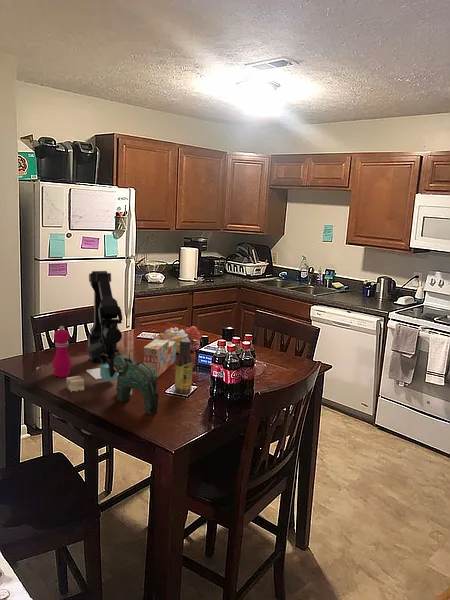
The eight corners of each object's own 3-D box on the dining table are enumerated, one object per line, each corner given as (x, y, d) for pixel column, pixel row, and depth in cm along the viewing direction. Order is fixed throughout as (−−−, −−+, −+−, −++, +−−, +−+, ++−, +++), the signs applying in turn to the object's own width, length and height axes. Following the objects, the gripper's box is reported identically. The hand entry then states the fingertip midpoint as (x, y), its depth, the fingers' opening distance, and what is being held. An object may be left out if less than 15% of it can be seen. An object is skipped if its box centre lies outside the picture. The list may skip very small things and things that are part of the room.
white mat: (85, 371, 206) (85, 370, 206) (111, 366, 212) (111, 365, 212) (95, 379, 197) (95, 378, 197) (122, 375, 204) (122, 374, 204)
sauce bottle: (184, 395, 187) (186, 344, 183) (171, 391, 190) (172, 341, 186) (194, 390, 192) (196, 340, 188) (181, 386, 196) (183, 337, 191)
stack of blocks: (162, 359, 225) (163, 333, 222) (175, 361, 224) (176, 335, 221) (142, 375, 205) (143, 346, 202) (157, 377, 203) (157, 348, 201)
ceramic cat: (111, 399, 180) (111, 346, 176) (125, 394, 185) (126, 342, 181) (148, 417, 168) (150, 360, 164) (162, 411, 173) (164, 356, 169)
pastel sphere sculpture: (199, 356, 233) (200, 336, 231) (148, 353, 234) (149, 334, 232) (202, 340, 258) (203, 323, 256) (157, 338, 258) (157, 320, 256)
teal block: (100, 376, 196) (100, 364, 195) (112, 374, 199) (112, 362, 198) (105, 380, 192) (105, 368, 191) (117, 378, 195) (117, 365, 194)
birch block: (66, 387, 189) (66, 377, 188) (79, 385, 191) (79, 375, 191) (70, 392, 185) (70, 382, 184) (84, 390, 187) (84, 379, 187)
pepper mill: (54, 378, 196) (53, 329, 192) (51, 372, 203) (50, 324, 198) (73, 376, 200) (72, 327, 195) (69, 370, 206) (69, 323, 202)
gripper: (79, 332, 195) (80, 370, 198) (98, 345, 180) (98, 386, 183) (107, 328, 201) (107, 366, 204) (126, 341, 186) (126, 381, 190)
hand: (108, 374), depth 195 cm, fingers closed on teal block, 5 cm apart
